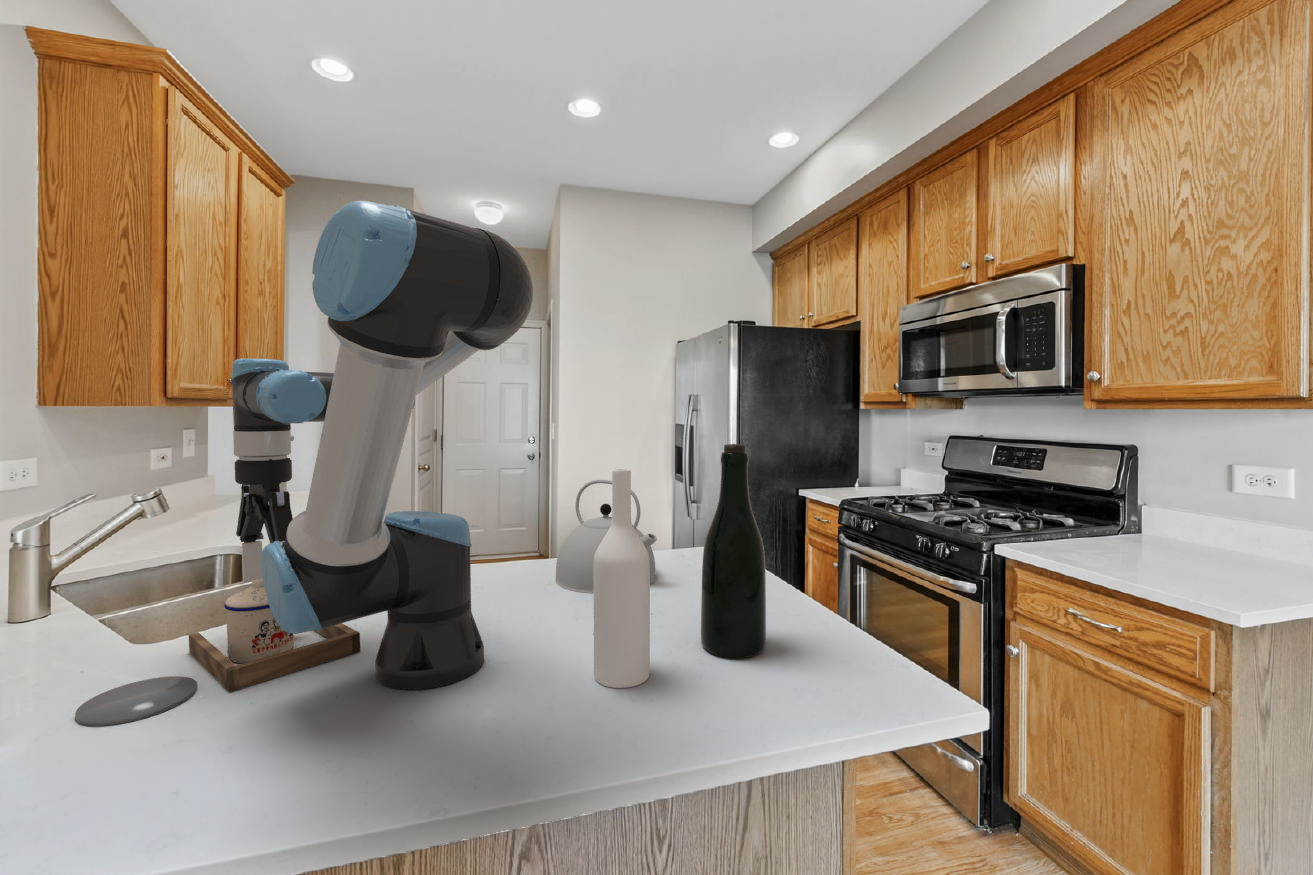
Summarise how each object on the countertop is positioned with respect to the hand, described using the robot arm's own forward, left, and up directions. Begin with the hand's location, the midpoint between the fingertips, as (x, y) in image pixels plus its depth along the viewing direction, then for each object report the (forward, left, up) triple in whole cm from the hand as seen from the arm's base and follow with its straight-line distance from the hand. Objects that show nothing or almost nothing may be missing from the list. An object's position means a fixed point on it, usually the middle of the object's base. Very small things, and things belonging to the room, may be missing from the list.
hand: (267, 589), depth 94 cm
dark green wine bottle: (-57, -48, -10) cm, 75 cm away
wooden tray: (-3, 0, -10) cm, 10 cm away
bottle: (-50, -29, -10) cm, 59 cm away
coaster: (-6, +17, -10) cm, 21 cm away
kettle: (-16, -62, -10) cm, 65 cm away
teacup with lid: (0, 0, -10) cm, 10 cm away
